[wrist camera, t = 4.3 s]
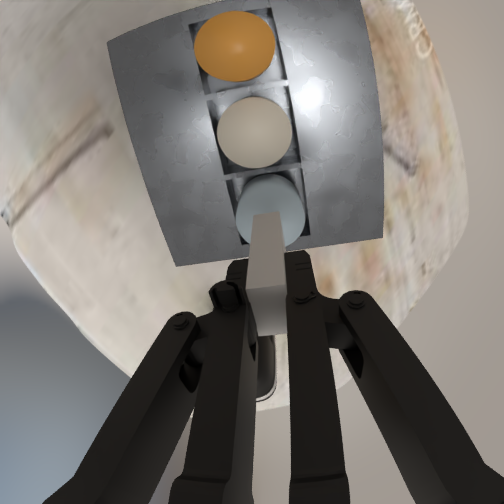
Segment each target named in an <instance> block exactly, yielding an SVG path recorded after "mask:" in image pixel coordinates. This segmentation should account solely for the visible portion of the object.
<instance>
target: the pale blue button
mask: <svg viewBox="0 0 504 504" xmlns="http://www.w3.org/2000/svg"><path fill="white" fill-rule="evenodd" d="M277 211H279V212H280V218H281V224H282V230H283V236H284V242H285V247H286V246H288V245H290V244H292V243H293V242H294V241H295V240H296V239H297V238H298V237H299V236H300V234H301V233H302V231H303V228H304V225H305V213H304V209H303V205H302V202H301V198H300V195H299V192H298V190H297V188H296V187H295V186H294V184H293V183H292V182H290V181H289V180H288V179H286V178H284V177H282V176H279V175H274V174H265V175H261V176H258V177H256V178H254V179H252V180H251V181H249V182H248V183H247V184H246V185H245V187H244V188H243V190H242V192H241V194H240V198H239V203H238V208H237V212H236V226H237V229H238V231H239V233H240V235H241V236H242V237H243V239H244V240H245V241H247V242H248V243H249V244H250V242H251V232H252V223H253V215H257V214H264V213H270V212H277Z"/></svg>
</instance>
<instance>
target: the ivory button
mask: <svg viewBox="0 0 504 504" xmlns="http://www.w3.org/2000/svg"><path fill="white" fill-rule="evenodd" d="M217 138H218V142H219V145H220V147H221V149H222V151H223V153H224V154H225V155H226V156H227V157H228V158H229V159H230V160H231V161H233V162H234V163H236V164H238V165H240V166H243V167H247V168H263V167H267V166H269V165H272V164H274V163H275V162H277V161H278V160H279V159H281V158H282V157H283V155H284V154H285V153H286V151H287V150H288V148H289V146H290V143H291V138H292V128H291V124H290V121H289V118H288V117H287V115H286V113H285V112H284V111H283V110H282V108H281V107H280V106H279V105H278V104H277V103H275V102H274V101H272V100H270V99H268V98H265V97H260V96H252V97H247V98H244V99H241V100H239V101H237V102H235V103H234V104H232V105H231V106H229V107H228V108H227V109H226V110H225V112H224V113H223V114H222V116H221V118H220V120H219V123H218V127H217Z"/></svg>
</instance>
